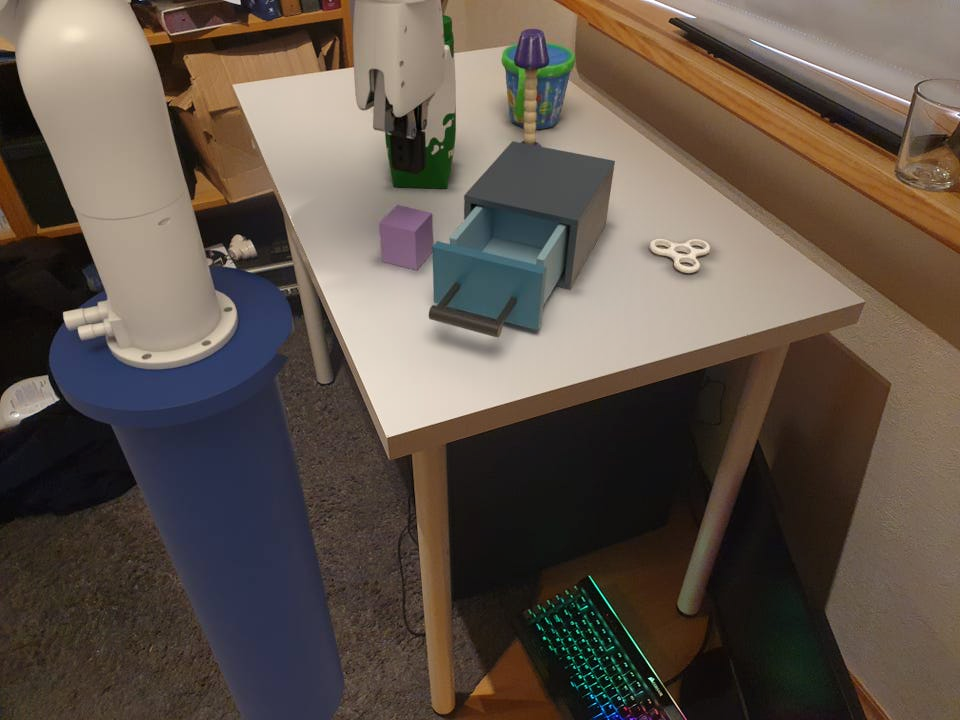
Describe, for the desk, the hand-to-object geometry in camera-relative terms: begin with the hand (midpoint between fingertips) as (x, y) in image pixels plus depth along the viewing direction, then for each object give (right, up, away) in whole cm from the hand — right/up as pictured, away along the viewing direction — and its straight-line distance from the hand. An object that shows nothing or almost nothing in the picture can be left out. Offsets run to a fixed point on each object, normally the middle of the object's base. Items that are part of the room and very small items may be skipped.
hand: (409, 168), depth 76 cm
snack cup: (+16, +17, +38) cm, 44 cm away
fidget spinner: (+30, -8, +9) cm, 32 cm away
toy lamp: (+14, +9, +29) cm, 33 cm away
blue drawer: (+9, -13, +1) cm, 16 cm away
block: (-1, -8, +8) cm, 11 cm away
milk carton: (0, +5, +23) cm, 24 cm away
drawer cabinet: (+14, -6, +11) cm, 19 cm away
